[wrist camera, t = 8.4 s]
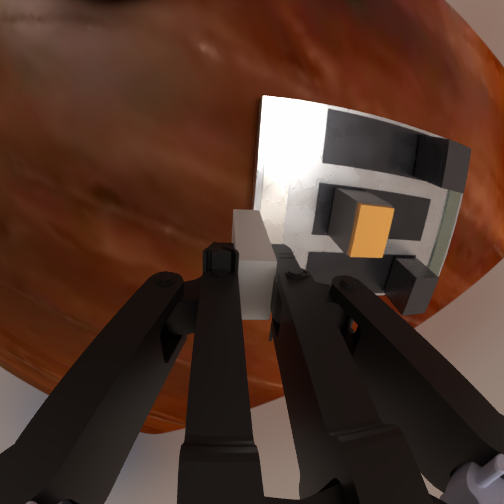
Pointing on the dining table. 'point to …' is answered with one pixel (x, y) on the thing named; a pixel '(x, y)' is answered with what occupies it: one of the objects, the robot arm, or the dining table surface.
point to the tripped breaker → (360, 223)
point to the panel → (364, 179)
